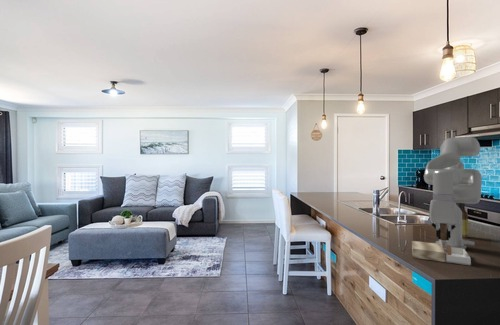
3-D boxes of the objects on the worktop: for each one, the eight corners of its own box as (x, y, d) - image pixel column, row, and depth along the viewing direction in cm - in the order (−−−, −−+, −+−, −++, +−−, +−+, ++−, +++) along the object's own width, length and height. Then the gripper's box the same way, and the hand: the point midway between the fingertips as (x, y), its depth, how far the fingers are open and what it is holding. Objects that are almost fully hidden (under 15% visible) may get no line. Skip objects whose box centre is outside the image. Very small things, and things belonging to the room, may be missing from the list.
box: (464, 255, 126) (464, 249, 126) (470, 265, 114) (470, 258, 114) (442, 252, 130) (442, 246, 130) (446, 262, 118) (446, 255, 118)
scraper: (445, 243, 128) (445, 221, 128) (447, 249, 120) (447, 226, 120) (439, 242, 129) (438, 221, 129) (441, 248, 121) (441, 225, 121)
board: (441, 252, 130) (441, 244, 130) (445, 262, 118) (445, 252, 118) (411, 249, 136) (411, 240, 136) (412, 257, 124) (412, 248, 124)
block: (445, 254, 126) (449, 255, 125) (447, 257, 122) (451, 258, 121) (445, 244, 126) (449, 245, 125) (447, 247, 122) (451, 247, 121)
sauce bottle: (462, 235, 162) (462, 200, 162) (471, 238, 155) (471, 202, 155) (451, 235, 161) (451, 200, 161) (460, 238, 155) (459, 202, 155)
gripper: (463, 197, 124) (464, 239, 124) (421, 195, 132) (421, 235, 132) (467, 199, 117) (467, 243, 117) (422, 197, 125) (422, 238, 125)
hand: (443, 238), depth 124 cm, fingers closed on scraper, 2 cm apart
